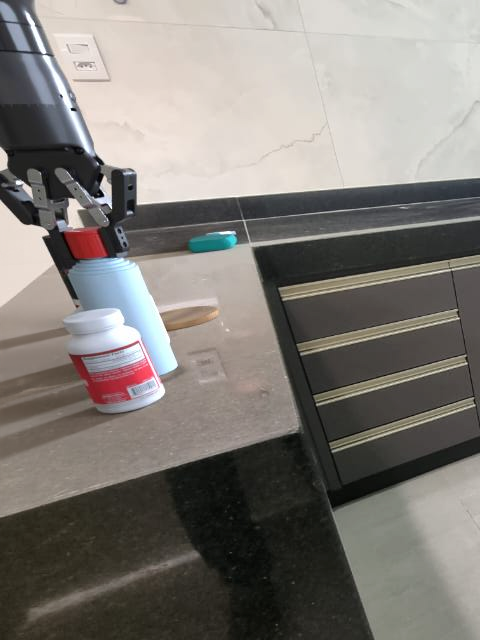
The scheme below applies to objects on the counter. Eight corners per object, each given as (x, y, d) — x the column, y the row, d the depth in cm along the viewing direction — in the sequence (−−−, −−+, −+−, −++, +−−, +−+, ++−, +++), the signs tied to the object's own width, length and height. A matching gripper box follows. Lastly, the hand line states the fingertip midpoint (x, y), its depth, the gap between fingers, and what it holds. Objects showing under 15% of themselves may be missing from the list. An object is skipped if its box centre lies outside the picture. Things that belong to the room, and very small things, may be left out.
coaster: (131, 333, 85) (129, 328, 85) (165, 314, 94) (163, 309, 94) (202, 326, 87) (200, 321, 87) (229, 308, 96) (227, 303, 96)
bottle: (103, 384, 67) (35, 240, 60) (133, 365, 73) (74, 231, 66) (162, 378, 69) (102, 237, 61) (187, 359, 74) (135, 228, 67)
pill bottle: (112, 396, 64) (69, 310, 60) (174, 386, 66) (137, 302, 62) (87, 420, 59) (38, 327, 55) (155, 408, 61) (114, 318, 57)
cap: (113, 256, 64) (101, 230, 62) (68, 260, 62) (56, 233, 61) (124, 250, 67) (113, 225, 66) (82, 254, 65) (70, 228, 64)
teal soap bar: (187, 253, 143) (200, 241, 163) (235, 248, 148) (242, 236, 168) (183, 242, 142) (196, 231, 162) (232, 237, 147) (239, 227, 167)
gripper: (-87, 101, 53) (2, 270, 60) (83, 99, 56) (148, 260, 63) (-21, 105, 59) (51, 256, 66) (127, 103, 62) (181, 247, 69)
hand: (98, 257), depth 65 cm, fingers closed on cap, 4 cm apart
